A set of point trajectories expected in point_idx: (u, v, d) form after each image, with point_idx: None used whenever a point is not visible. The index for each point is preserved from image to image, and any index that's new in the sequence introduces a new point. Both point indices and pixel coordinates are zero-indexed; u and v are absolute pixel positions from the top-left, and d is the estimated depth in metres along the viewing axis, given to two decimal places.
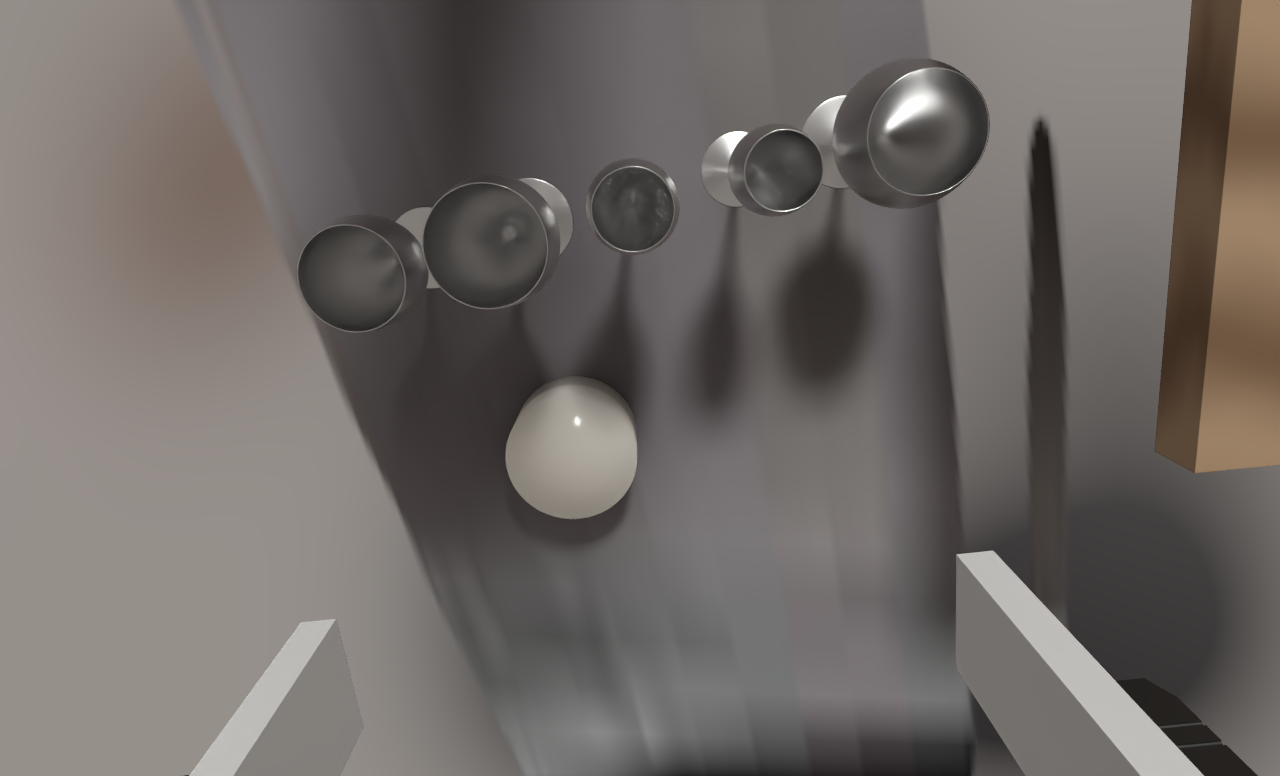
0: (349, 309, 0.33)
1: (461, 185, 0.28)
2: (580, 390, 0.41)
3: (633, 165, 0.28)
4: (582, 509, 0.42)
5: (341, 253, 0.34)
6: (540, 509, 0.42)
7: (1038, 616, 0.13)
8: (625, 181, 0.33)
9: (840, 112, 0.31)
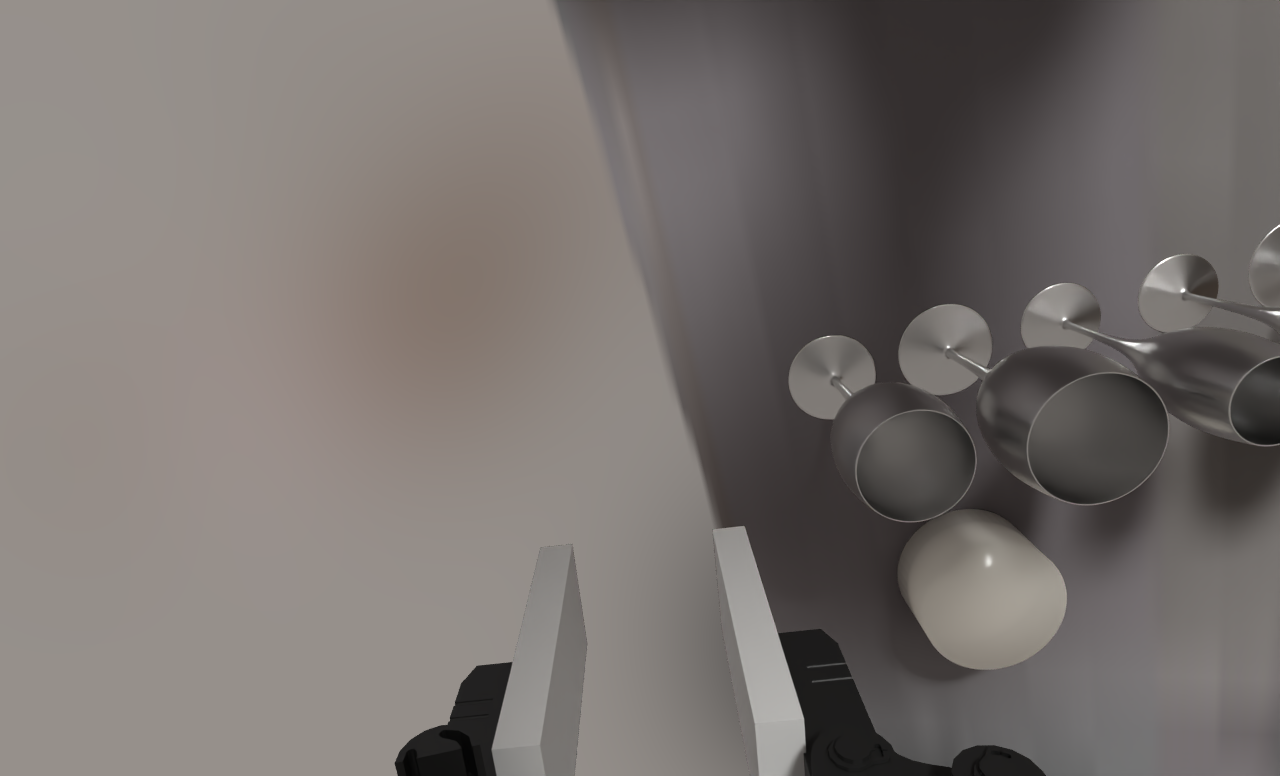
0: None
1: (1084, 375, 0.25)
2: (1002, 533, 0.38)
3: None
4: (998, 660, 0.38)
5: None
6: (953, 660, 0.38)
7: (747, 578, 0.16)
8: None
9: None
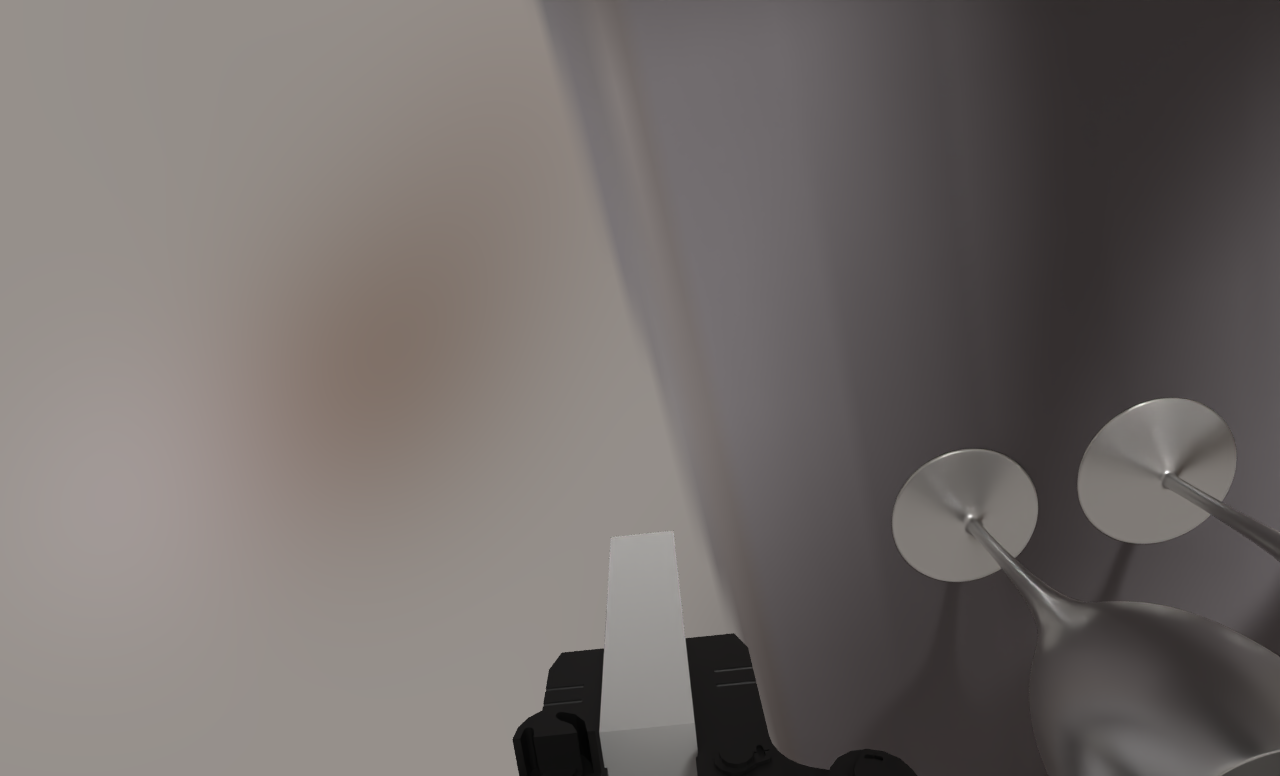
0: None
1: None
2: None
3: None
4: None
5: None
6: None
7: (666, 583, 0.16)
8: None
9: None
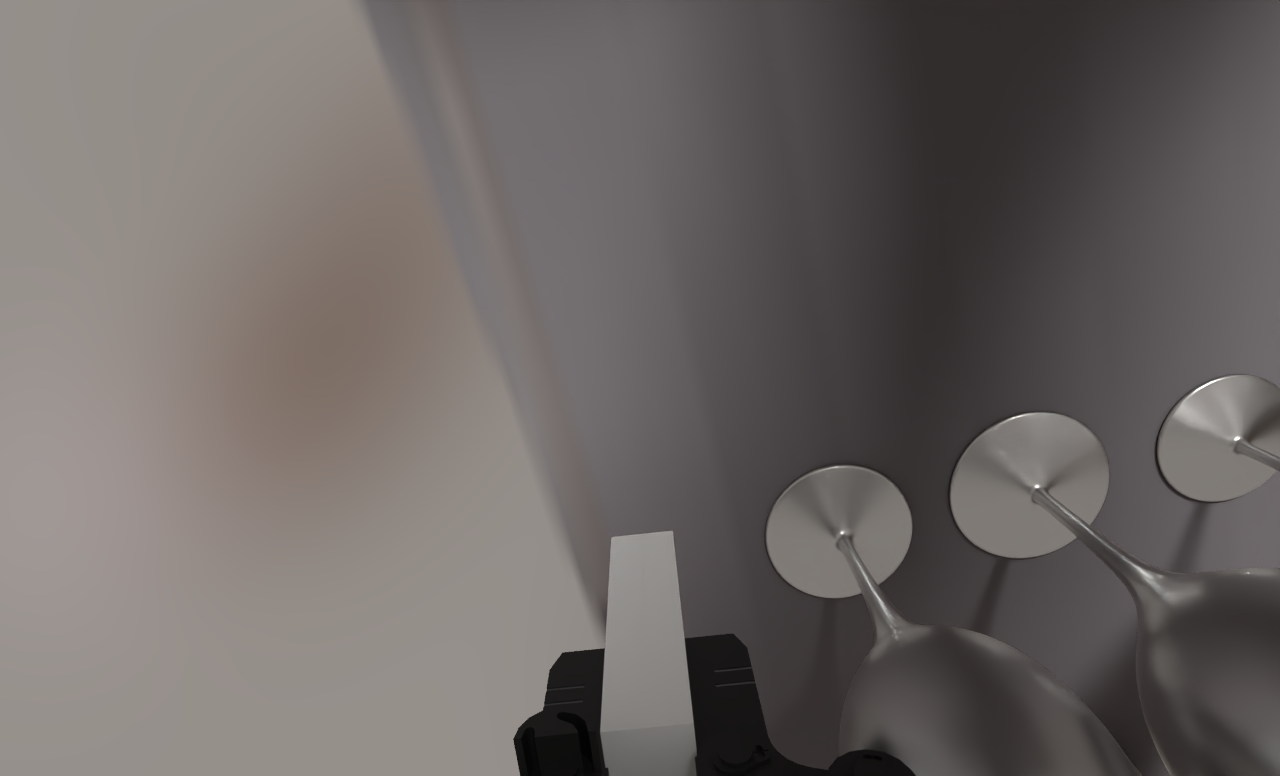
0: None
1: None
2: None
3: None
4: None
5: None
6: None
7: (665, 583, 0.16)
8: None
9: None
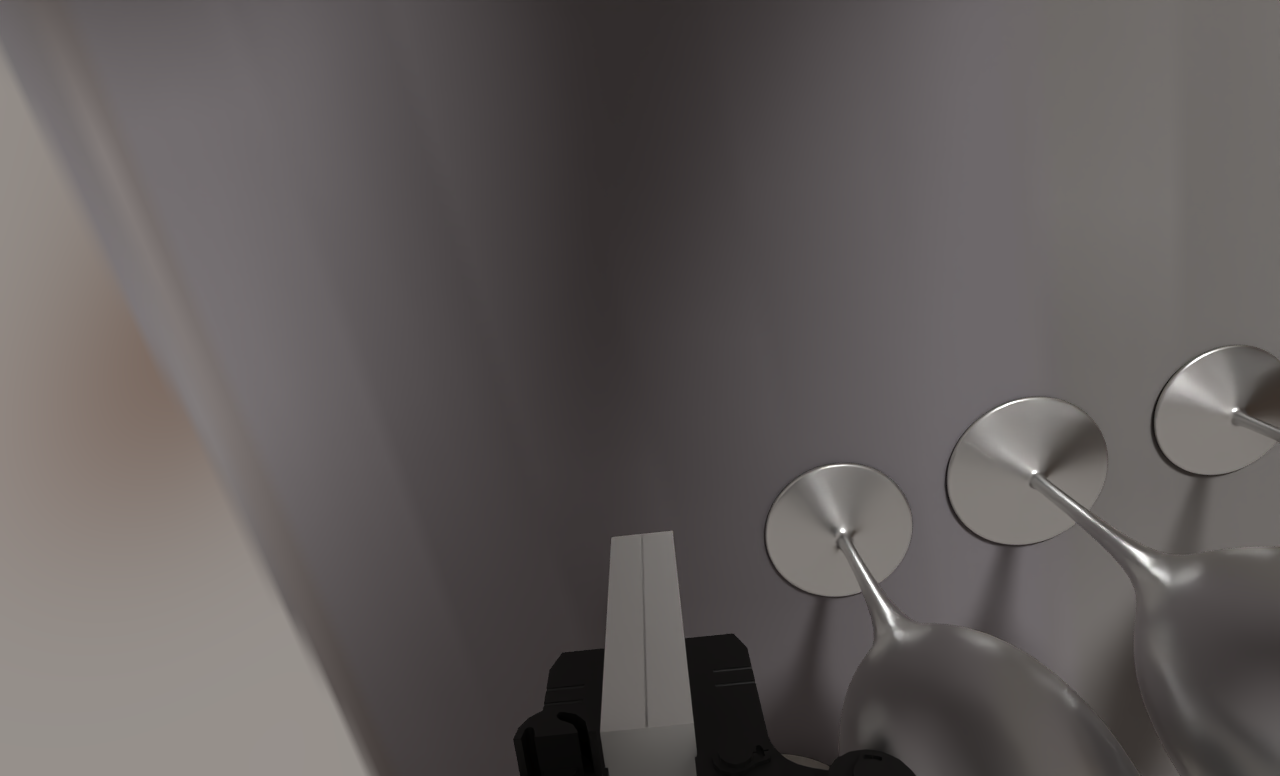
0: None
1: None
2: None
3: None
4: None
5: None
6: None
7: (665, 583, 0.16)
8: None
9: None
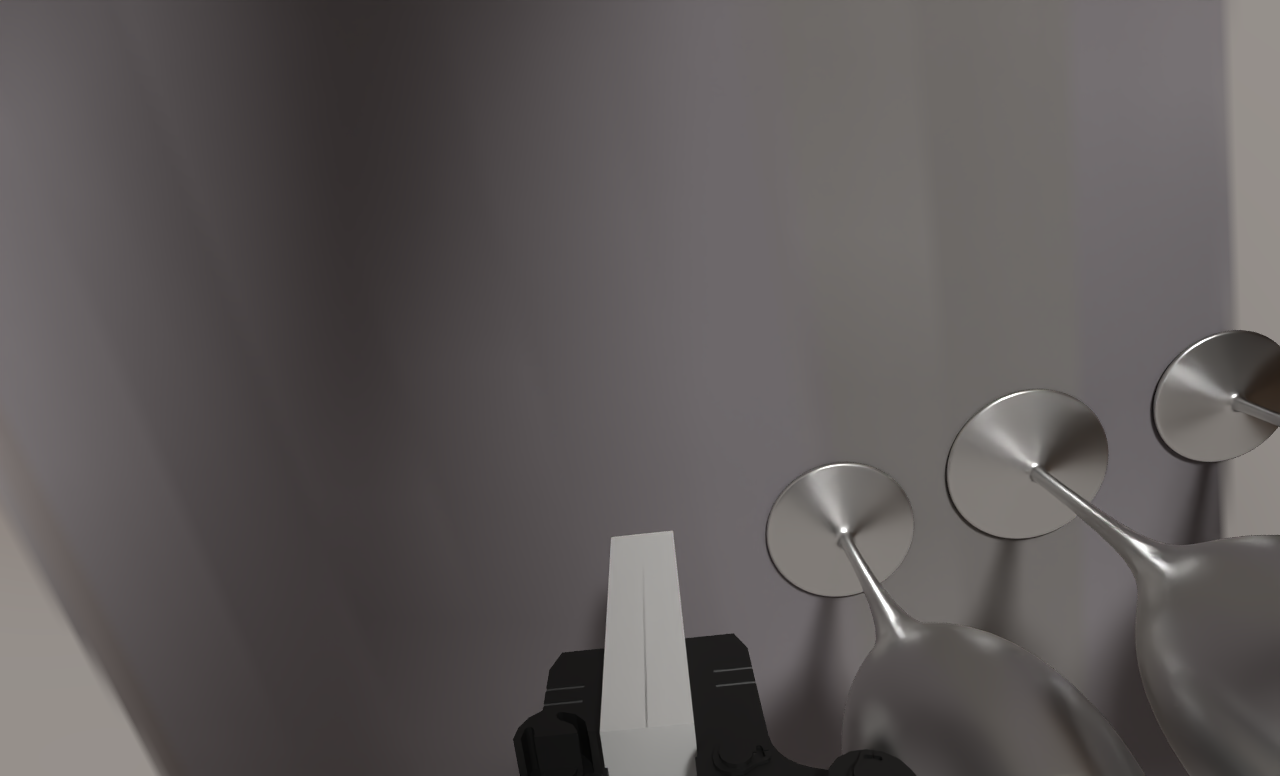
0: None
1: None
2: None
3: None
4: None
5: None
6: None
7: (666, 583, 0.16)
8: None
9: None
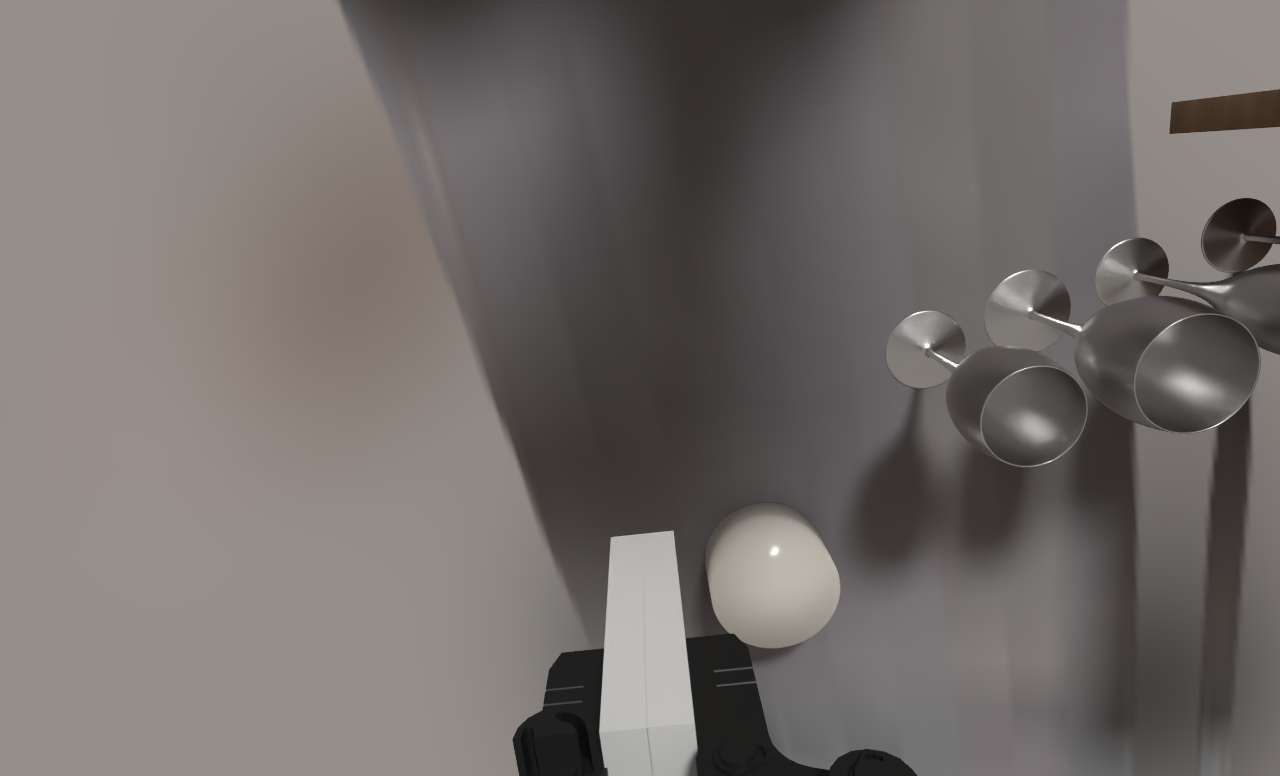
0: None
1: (1179, 319, 0.28)
2: (783, 523, 0.42)
3: None
4: (783, 639, 0.42)
5: None
6: (741, 639, 0.42)
7: (666, 583, 0.16)
8: None
9: None
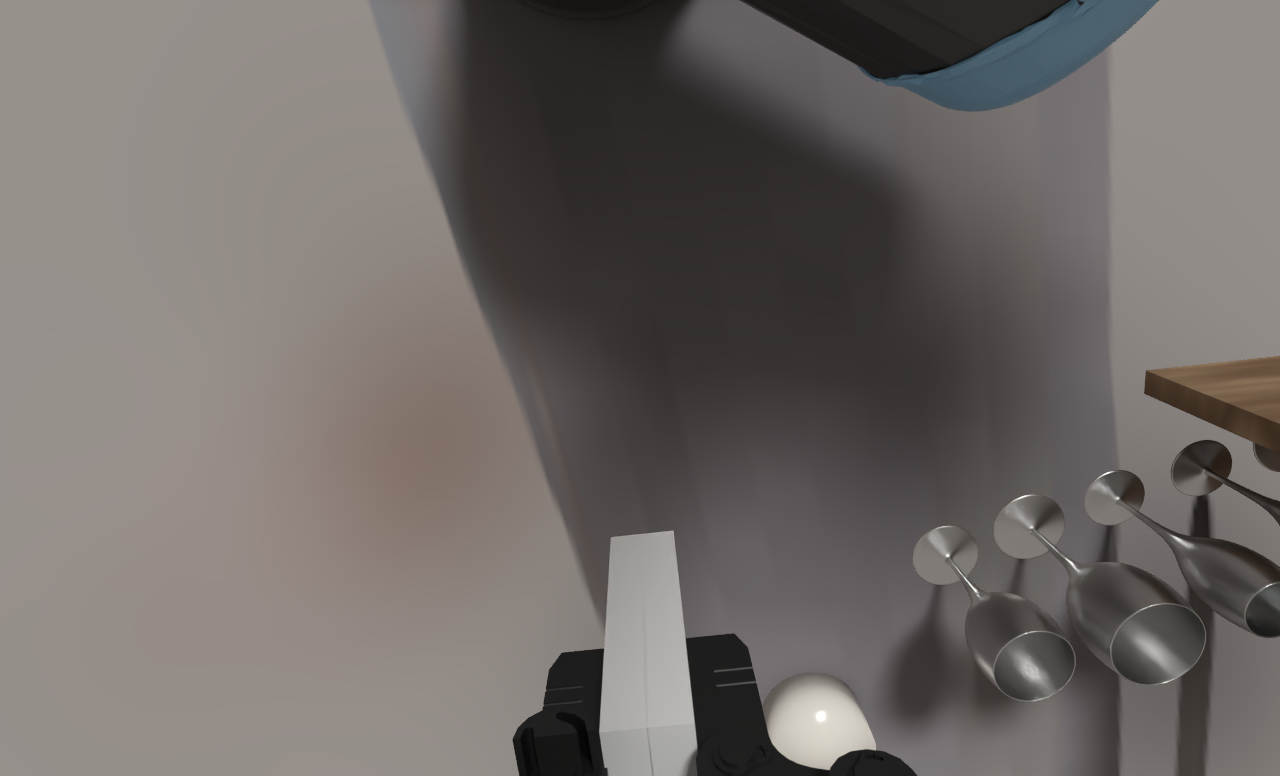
0: None
1: (1144, 607, 0.38)
2: (829, 698, 0.51)
3: (1279, 580, 0.37)
4: None
5: None
6: None
7: (666, 583, 0.16)
8: None
9: None
